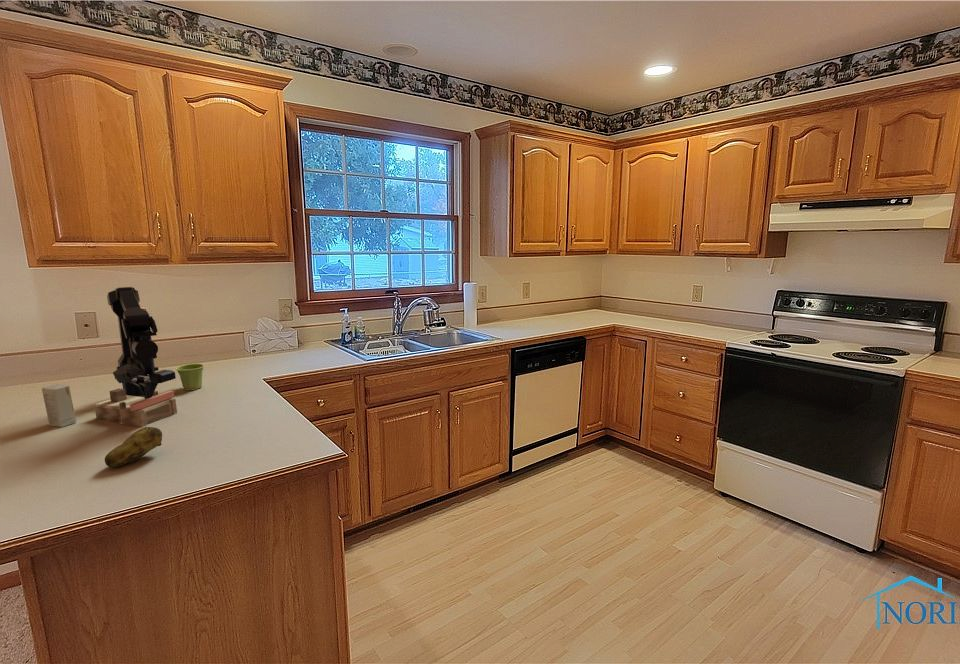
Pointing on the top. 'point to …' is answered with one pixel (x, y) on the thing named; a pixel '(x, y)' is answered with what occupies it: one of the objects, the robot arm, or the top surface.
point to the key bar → (151, 400)
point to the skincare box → (59, 405)
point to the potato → (134, 447)
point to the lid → (126, 401)
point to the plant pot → (191, 376)
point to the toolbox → (136, 413)
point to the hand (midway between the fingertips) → (148, 400)
